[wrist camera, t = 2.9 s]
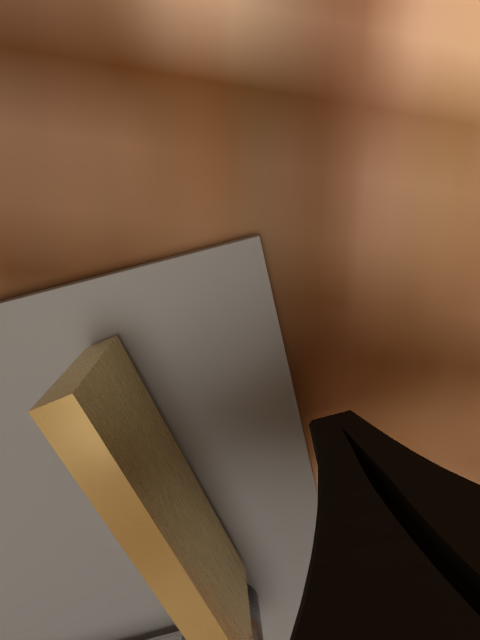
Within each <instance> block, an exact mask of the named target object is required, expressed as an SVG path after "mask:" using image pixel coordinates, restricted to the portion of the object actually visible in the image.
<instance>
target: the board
mask: <svg viewBox="0 0 480 640" xmlns="http://www.w3.org/2000/svg"><path fill="white" fill-rule="evenodd" d="M116 335H117V337H118V339H119V340H120V342H121V344H122V346H123V348H124V349H125V351H126V353H127V355H128V357H129V359H130V360H131V362H132V364H133V366H134V368H135V369H136V371H137V373H138V375H139V377H140V378H141V380H142V382H143V384H144V386H145V387H146V389H147V391H148V393H149V395H150V396H151V398H152V400H153V402H154V404H155V406H156V407H157V409H158V411H159V413H160V415H161V416H162V418H163V420H164V422H165V424H166V425H167V427H168V429H169V431H170V433H171V434H172V436H173V438H174V440H175V442H176V443H177V445H178V447H179V449H180V451H181V453H182V454H183V456H184V458H185V460H186V462H187V463H188V465H189V467H190V469H191V471H192V472H193V474H194V476H195V478H196V480H197V481H198V483H199V485H200V487H201V489H202V490H203V492H204V494H205V496H206V498H207V500H208V501H209V503H210V505H211V507H212V509H213V510H214V512H215V514H216V516H217V518H218V519H219V521H220V523H221V525H222V527H223V528H224V530H225V532H226V534H227V536H228V537H229V539H230V541H231V543H232V545H233V547H234V548H235V550H236V552H237V554H238V556H239V557H240V559H241V561H242V563H243V565H244V566H245V568H246V577H247V584H248V585H250V586H251V587H253V588H254V589H255V591H256V592H257V594H258V599H259V607H260V615H261V623H262V631H263V639H264V640H290V637H291V634H292V631H293V627H294V624H295V620H296V617H297V614H298V610H299V607H300V603H301V599H302V595H303V591H304V586H305V582H306V577H307V573H308V568H309V564H310V559H311V553H312V547H313V540H314V533H315V526H316V516H317V504H318V495H317V490H316V486H315V482H314V477H313V473H312V468H311V464H310V459H309V455H308V450H307V446H306V441H305V437H304V433H303V428H302V424H301V419H300V415H299V410H298V406H297V401H296V397H295V392H294V388H293V384H292V379H291V375H290V370H289V366H288V361H287V357H286V352H285V348H284V343H283V339H282V335H281V330H280V326H279V321H278V317H277V312H276V308H275V303H274V299H273V294H272V290H271V286H270V281H269V277H268V272H267V268H266V263H265V259H264V254H263V250H262V245H261V241H260V237H259V235H257V234H255V235H251V236H247V237H243V238H240V239H236V240H232V241H228V242H224V243H220V244H217V245H213V246H209V247H205V248H201V249H197V250H193V251H190V252H186V253H182V254H178V255H174V256H170V257H167V258H163V259H159V260H155V261H151V262H147V263H144V264H140V265H136V266H132V267H128V268H124V269H121V270H117V271H113V272H109V273H105V274H101V275H98V276H94V277H90V278H86V279H82V280H78V281H75V282H71V283H67V284H63V285H59V286H55V287H52V288H48V289H44V290H40V291H36V292H32V293H29V294H25V295H21V296H17V297H13V298H9V299H6V300H2V301H0V640H147V639H150V638H154V637H158V636H162V635H166V634H169V633H173V632H177V631H180V630H179V629H178V627H177V626H176V625H175V623H174V622H173V620H172V619H171V617H170V616H169V614H168V613H167V612H166V610H165V609H164V607H163V606H162V604H161V603H160V602H159V600H158V599H157V597H156V596H155V594H154V593H153V591H152V590H151V589H150V587H149V586H148V584H147V583H146V581H145V580H144V578H143V577H142V576H141V574H140V573H139V571H138V570H137V568H136V567H135V566H134V564H133V563H132V561H131V560H130V558H129V557H128V555H127V554H126V553H125V551H124V550H123V548H122V547H121V545H120V544H119V542H118V541H117V540H116V538H115V537H114V535H113V534H112V532H111V531H110V529H109V528H108V527H107V525H106V524H105V522H104V521H103V519H102V518H101V517H100V515H99V514H98V512H97V511H96V509H95V508H94V506H93V505H92V504H91V502H90V501H89V499H88V498H87V496H86V495H85V493H84V492H83V491H82V489H81V488H80V486H79V485H78V483H77V482H76V480H75V479H74V478H73V476H72V475H71V473H70V472H69V470H68V469H67V468H66V466H65V465H64V463H63V462H62V460H61V459H60V457H59V456H58V455H57V453H56V452H55V450H54V449H53V447H52V446H51V444H50V443H49V442H48V440H47V439H46V437H45V436H44V434H43V433H42V432H41V430H40V429H39V427H38V426H37V424H36V423H35V421H34V420H33V419H32V417H31V416H30V414H29V413H28V411H29V410H30V409H31V408H32V407H33V406H34V404H35V403H36V402H37V401H38V400H39V399H40V398H41V397H42V396H43V395H44V394H45V392H46V391H47V390H48V389H49V388H50V387H51V386H52V385H53V384H54V383H55V381H56V380H57V379H58V378H59V377H60V376H61V375H62V374H63V373H64V372H65V371H66V369H67V368H68V367H69V366H70V365H71V364H72V363H73V362H74V361H75V360H76V358H77V357H78V356H79V355H80V354H81V353H82V352H83V351H84V350H85V349H86V348H87V347H90V346H92V345H95V344H97V343H99V342H102V341H104V340H107V339H109V338H111V337H114V336H116Z"/></svg>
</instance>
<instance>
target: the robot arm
mask: <svg viewBox="0 0 480 640" xmlns="http://www.w3.org/2000/svg"><path fill="white" fill-rule="evenodd" d="M309 427H310V431H311V436H312V441H313V445H314V450H315V454H316V459H317V464H318V504H317V516H316V526H315V533H314V540H313V547H312V553H311V559H310V564H309V568H308V573H307V577H306V582H305V586H304V591H303V595H302V599H301V603H300V607H299V610H298V614H297V617H296V620H295V624H294V627H293V631H292V634H291V637H290V640H480V485H479V484H476V483H474V482H472V481H470V480H468V479H466V478H463V477H461V476H459V475H457V474H455V473H453V472H450V471H448V470H446V469H445V468H443V467H441V466H439V465H437V464H435V463H433V462H431V461H429V460H428V459H426V458H424V457H422V456H420V455H419V454H417V453H415V452H413V451H412V450H410V449H408V448H407V447H405V446H404V445H402V444H400V443H399V442H397V441H395V440H394V439H392V438H391V437H389V436H388V435H386V434H385V433H383V432H382V431H380V430H379V429H377V428H376V427H374V426H373V425H371V424H370V423H368V422H367V421H365V420H364V419H363V418H361V417H360V416H358V415H357V414H355V413H354V412H352V411H351V410H349V411H346V412H342V413H338V414H334V415H330V416H326V417H323V418H319V419H315V420H312V421H311V422H310V424H309Z"/></svg>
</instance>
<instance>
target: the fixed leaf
mask: <svg viewBox="0 0 480 640" xmlns="http://www.w3.org/2000/svg"><path fill="white" fill-rule="evenodd" d="M247 588H248V598H249V608H250V618H251V629H252V637H253V639H254V640H264V639H263V631H262V623H261V615H260V607H259V599H258V594H257V592H256V591H255V589H254V588H253V587H251V586H250V585H248V584H247ZM147 640H186V639H185V638H184V636H183V635H182V633H181V632H180V631H177V632H173V633H169V634H166V635H162V636H158V637H154V638H150V639H147Z"/></svg>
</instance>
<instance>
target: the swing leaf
mask: <svg viewBox="0 0 480 640" xmlns="http://www.w3.org/2000/svg"><path fill="white" fill-rule="evenodd" d="M28 413H29V414H30V416H31V417H32V419H33V420H34V421H35V423H36V424H37V426H38V427H39V429H40V430H41V432H42V433H43V434H44V436H45V437H46V439H47V440H48V442H49V443H50V444H51V446H52V447H53V449H54V450H55V452H56V453H57V455H58V456H59V457H60V459H61V460H62V462H63V463H64V465H65V466H66V468H67V469H68V470H69V472H70V473H71V475H72V476H73V478H74V479H75V480H76V482H77V483H78V485H79V486H80V488H81V489H82V491H83V492H84V493H85V495H86V496H87V498H88V499H89V501H90V502H91V504H92V505H93V506H94V508H95V509H96V511H97V512H98V514H99V515H100V517H101V518H102V519H103V521H104V522H105V524H106V525H107V527H108V528H109V529H110V531H111V532H112V534H113V535H114V537H115V538H116V540H117V541H118V542H119V544H120V545H121V547H122V548H123V550H124V551H125V553H126V554H127V555H128V557H129V558H130V560H131V561H132V563H133V564H134V566H135V567H136V568H137V570H138V571H139V573H140V574H141V576H142V577H143V578H144V580H145V581H146V583H147V584H148V586H149V587H150V589H151V590H152V591H153V593H154V594H155V596H156V597H157V599H158V600H159V602H160V603H161V604H162V606H163V607H164V609H165V610H166V612H167V613H168V614H169V616H170V617H171V619H172V620H173V622H174V623H175V625H176V626H177V627H178V629H179V630H180V632H181V633H182V635H183V636H184V638H185V639H186V640H254V639H253V637H252V629H251V618H250V608H249V598H248V588H247V577H246V568H245V566H244V565H243V563H242V561H241V559H240V557H239V556H238V554H237V552H236V550H235V548H234V547H233V545H232V543H231V541H230V539H229V537H228V536H227V534H226V532H225V530H224V528H223V527H222V525H221V523H220V521H219V519H218V518H217V516H216V514H215V512H214V510H213V509H212V507H211V505H210V503H209V501H208V500H207V498H206V496H205V494H204V492H203V490H202V489H201V487H200V485H199V483H198V481H197V480H196V478H195V476H194V474H193V472H192V471H191V469H190V467H189V465H188V463H187V462H186V460H185V458H184V456H183V454H182V453H181V451H180V449H179V447H178V445H177V443H176V442H175V440H174V438H173V436H172V434H171V433H170V431H169V429H168V427H167V425H166V424H165V422H164V420H163V418H162V416H161V415H160V413H159V411H158V409H157V407H156V406H155V404H154V402H153V400H152V398H151V396H150V395H149V393H148V391H147V389H146V387H145V386H144V384H143V382H142V380H141V378H140V377H139V375H138V373H137V371H136V369H135V368H134V366H133V364H132V362H131V360H130V359H129V357H128V355H127V353H126V351H125V349H124V348H123V346H122V344H121V342H120V340H119V339H118V337H117V335H116V336H114V337H111V338H109V339H107V340H104V341H102V342H99V343H97V344H95V345H92V346H90V347H87V348H86V349H85V350H84V351H83V352H82V353H81V354H80V355H79V356H78V357H77V358H76V360H75V361H74V362H73V363H72V364H71V365H70V366H69V367H68V368H67V369H66V371H65V372H64V373H63V374H62V375H61V376H60V377H59V378H58V379H57V380H56V381H55V383H54V384H53V385H52V386H51V387H50V388H49V389H48V390H47V391H46V392H45V394H44V395H43V396H42V397H41V398H40V399H39V400H38V401H37V402H36V403H35V404H34V406H33V407H32V408H31V409H30V410H29V411H28Z"/></svg>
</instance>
